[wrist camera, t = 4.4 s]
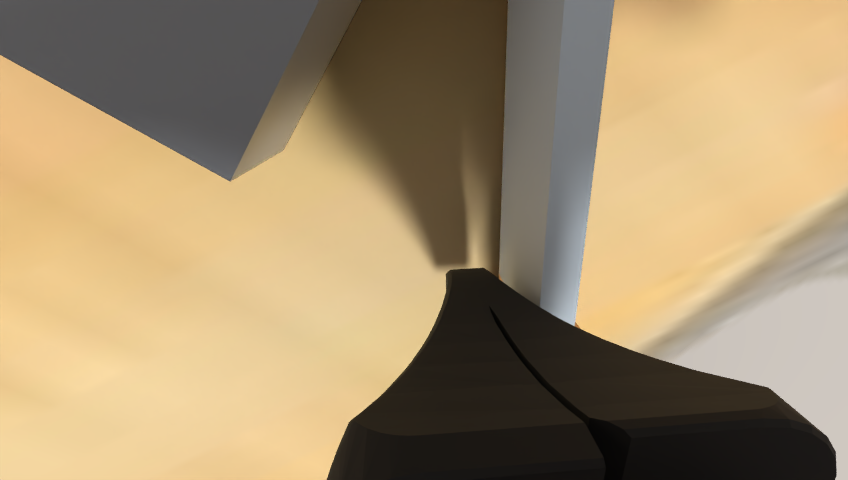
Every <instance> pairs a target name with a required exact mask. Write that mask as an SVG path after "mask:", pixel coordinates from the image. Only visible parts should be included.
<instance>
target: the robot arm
mask: <svg viewBox="0 0 848 480" xmlns="http://www.w3.org/2000/svg"><path fill="white" fill-rule="evenodd" d="M835 478H836V452H835V450H834V448H833V446H832V444H831V443H830V441H829V439H828V437H827V436H826V435H824V434H823V433H822V432H821V431H820V430H819V429H817V428H816V427H815V426H814V425H812V424H811V423H810V422H809V421H808V420H807V419H805V418H804V417H803V416H802V415H800V414H799V413H798V412H797V411H796V410H795V409H794V408H792V407H791V406H790V405H789V404H787V403H786V402H785V401H784V400H783V399H782V398H780V397H779V396H778V395H777V394H776V393H774V392H773V391H772V390H771V389H769V388H767V387H764V386H759V385H755V384H750V383H746V382H742V381H738V380H734V379H730V378H725V377H721V376H717V375H713V374H708V373H704V372H700V371H696V370H692V369H689V368H685V367H682V366H679V365H675V364H672V363H669V362H665V361H662V360H659V359H655V358H653V357H650V356H647V355H644V354H641V353H638V352H635V351H632V350H629V349H627V348H624V347H622V346H619V345H616V344H614V343H611V342H609V341H606V340H604V339H601V338H599V337H597V336H594V335H592V334H590V333H588V332H586V331H584V330H582V329H579V328H577V327H575V326H573V325H571V324H569V323H567V322H565V321H563V320H561V319H560V318H558V317H556V316H554V315H552V314H551V313H549V312H547V311H546V310H544V309H542V308H541V307H539V306H537V305H536V304H534V303H533V302H531V301H530V300H528V299H527V298H525V297H524V296H522V295H521V294H519V293H518V292H516V291H515V290H513V289H512V288H511V287H509V286H508V285H507V284H505V283H504V282H502V281H501V280H500V279H498V278H497V277H496V276H494V275H493V274H492V273H490V272H489V271H487V270H486V269H484V268H473V269H457V270H450V271H449V272H447V273H446V294H445V298H444V301H443V305H442V308H441V310H440V312H439V315H438V317H437V320H436V322H435V324H434V326H433V328H432V330H431V332H430V334H429V336H428V338H427V339H426V341H425V343H424V344H423V346H422V347H421V349H420V350H419V352H418V353H417V355H416V356H415V357H414V359H413V360H412V362H411V363H410V364H409V366H408V367H407V368H406V369H405V370H404V372H403V373H402V374H401V375H400V376H399V377H398V378H397V379H396V380H395V381H394V382H393V384H392V385H391V386H390V387H389V388H388V389H387V390H386V391H385V392H384V393H383V394H382V395H381V396H380V397H379V398H378V399H377V400H375V401H374V402H373V403H372V404H371V405H369V406H368V407H367V408H366V409H365V410H364V411H362V412H361V413H360V414H359V415H357V416H356V417H355V418H353V419H352V420H351V421H350V422H349V424H348V426H347V428H346V431H345V433H344V435H343V438H342V440H341V442H340V445H339V447H338V450H337V452H336V455H335V457H334V460H333V463H332V465H331V468H330V472H329V475H328V478H327V480H835Z"/></svg>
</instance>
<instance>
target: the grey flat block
mask: <svg viewBox="0 0 848 480" xmlns="http://www.w3.org/2000/svg"><path fill="white" fill-rule="evenodd" d="M361 1H362V0H0V55H2V56H3V57H5V58H7V59H9V60H11V61H12V62H14V63H16V64H18V65H20V66H21V67H23V68H25V69H27V70H29V71H31V72H32V73H34V74H36V75H38V76H40V77H41V78H43V79H45V80H47V81H49V82H51V83H52V84H54V85H56V86H58V87H60V88H61V89H63V90H65V91H67V92H69V93H70V94H72V95H74V96H76V97H78V98H80V99H81V100H83V101H85V102H87V103H89V104H90V105H92V106H94V107H96V108H98V109H99V110H101V111H103V112H105V113H107V114H109V115H110V116H112V117H114V118H116V119H118V120H119V121H121V122H123V123H125V124H127V125H129V126H130V127H132V128H134V129H136V130H138V131H139V132H141V133H143V134H145V135H147V136H148V137H150V138H152V139H154V140H156V141H158V142H159V143H161V144H163V145H165V146H167V147H168V148H170V149H172V150H174V151H176V152H177V153H179V154H181V155H183V156H185V157H187V158H188V159H190V160H192V161H194V162H196V163H197V164H199V165H201V166H203V167H205V168H207V169H208V170H210V171H212V172H214V173H216V174H217V175H219V176H221V177H223V178H225V179H226V180H228V181H232V180H234V179H235V178H237V177H239V176H240V175H242V174H244V173H246V172H247V171H249V170H251V169H252V168H254V167H256V166H257V165H259V164H261V163H263V162H264V161H266V160H268V159H269V158H271V157H273V156H274V155H276V154H278V153H279V152H281V151H283V150H284V148H285V146H286V144H287V143H288V141H289V139H290V137H291V135H292V133H293V131H294V129H295V127H296V125H297V123H298V122H299V120H300V118H301V116H302V114H303V112H304V110H305V108H306V106H307V104H308V102H309V101H310V99H311V97H312V95H313V93H314V91H315V89H316V87H317V85H318V83H319V81H320V80H321V78H322V76H323V74H324V72H325V70H326V68H327V66H328V64H329V62H330V60H331V59H332V57H333V55H334V53H335V51H336V49H337V47H338V45H339V43H340V41H341V39H342V38H343V36H344V34H345V32H346V30H347V28H348V26H349V24H350V22H351V20H352V19H353V17H354V15H355V13H356V11H357V9H358V7H359V5H360V3H361Z"/></svg>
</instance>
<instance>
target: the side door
mask: <svg viewBox="0 0 848 480" xmlns="http://www.w3.org/2000/svg"><path fill="white" fill-rule="evenodd" d="M613 8H614V0H508V17H507V47H506V77H505V107H504V137H503V167H502V198H501V228H500V258H499V279H500V280H501V281H502V282H504V283H505V284H507V285H508V286H509V287H511V288H512V289H513V290H515V291H516V292H518V293H519V294H521V295H522V296H524V297H525V298H527V299H528V300H530V301H531V302H533V303H534V304H536V305H537V306H539V307H541V308H542V309H544V310H546V311H547V312H549V313H551V314H552V315H554V316H556V317H558V318H560V319H561V320H563V321H565V322H567V323H569V324H571V325H573V326H575V327H577V328H579V326H578V325H577V324H576V322H575V318H576V310H577V302H578V294H579V286H580V278H581V269H582V261H583V253H584V245H585V237H586V228H587V220H588V212H589V204H590V196H591V188H592V179H593V171H594V163H595V155H596V147H597V139H598V130H599V122H600V114H601V106H602V98H603V89H604V81H605V73H606V65H607V57H608V49H609V40H610V32H611V24H612V16H613ZM579 329H580V328H579Z"/></svg>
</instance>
